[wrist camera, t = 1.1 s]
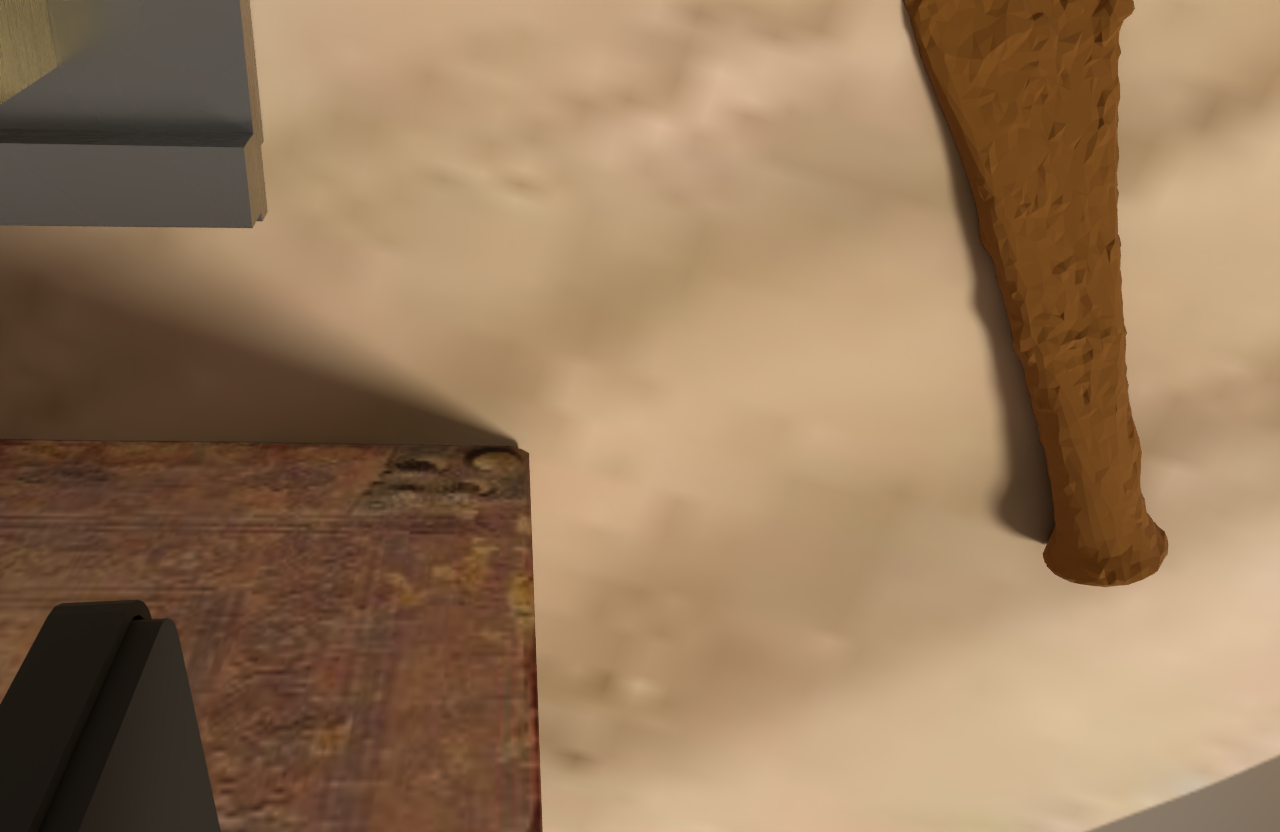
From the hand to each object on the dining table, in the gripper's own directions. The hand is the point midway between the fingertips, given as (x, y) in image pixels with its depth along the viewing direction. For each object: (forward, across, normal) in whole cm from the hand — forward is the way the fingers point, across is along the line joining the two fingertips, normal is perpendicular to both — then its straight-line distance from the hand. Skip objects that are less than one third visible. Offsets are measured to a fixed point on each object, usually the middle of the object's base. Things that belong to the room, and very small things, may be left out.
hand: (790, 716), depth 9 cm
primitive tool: (+24, -12, +6) cm, 27 cm away
